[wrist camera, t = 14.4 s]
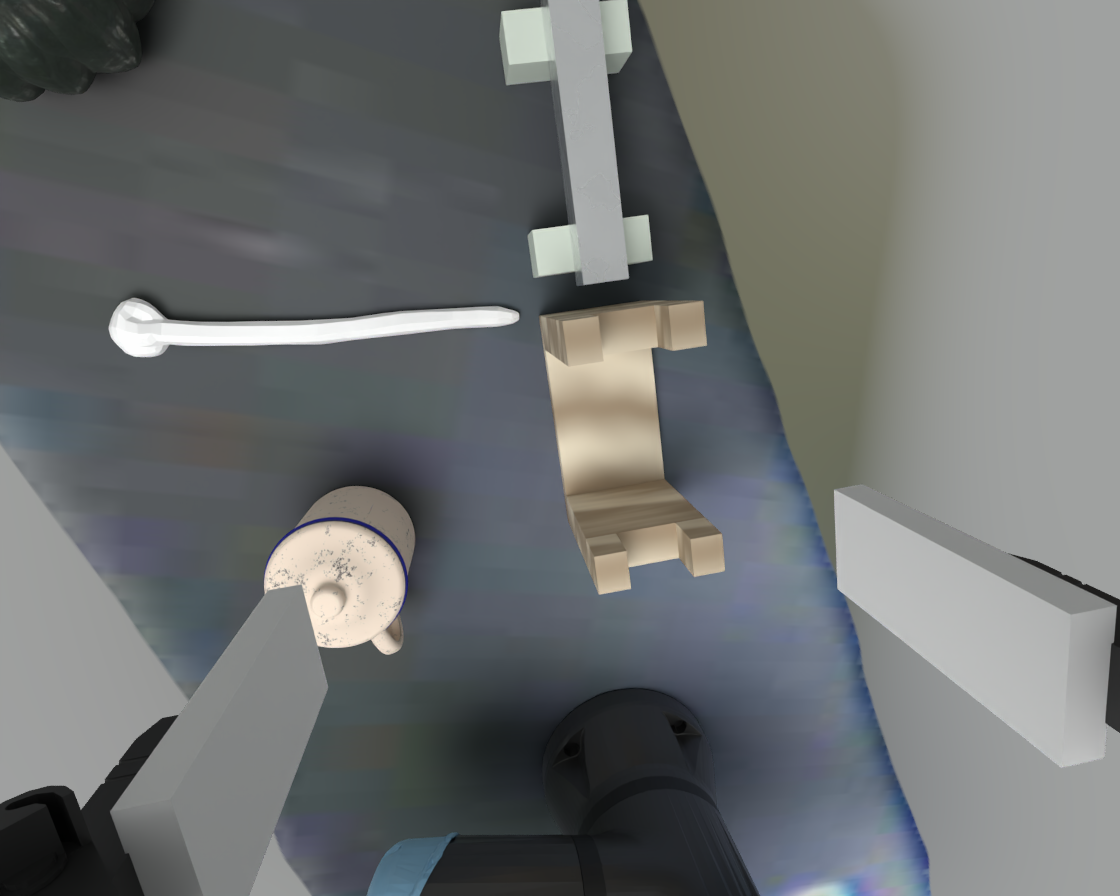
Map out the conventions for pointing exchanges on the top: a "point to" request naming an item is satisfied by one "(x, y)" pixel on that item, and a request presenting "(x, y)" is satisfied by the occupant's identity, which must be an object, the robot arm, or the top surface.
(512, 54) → the rest
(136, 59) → the squash
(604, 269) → the rail
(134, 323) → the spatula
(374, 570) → the teacup with lid
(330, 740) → the top surface
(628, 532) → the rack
